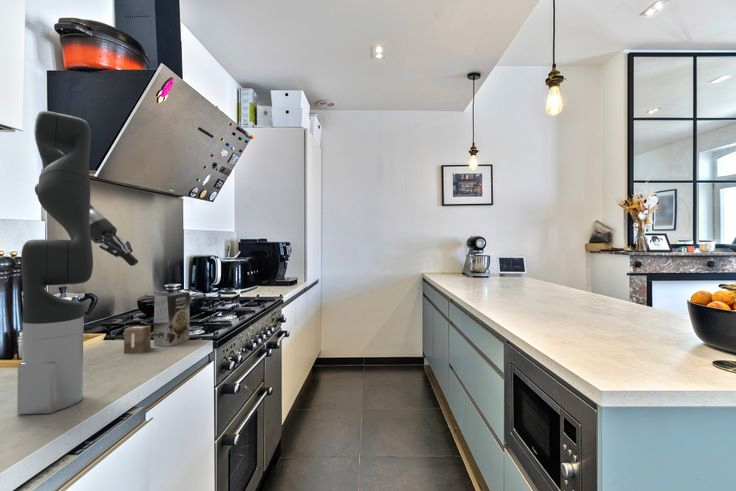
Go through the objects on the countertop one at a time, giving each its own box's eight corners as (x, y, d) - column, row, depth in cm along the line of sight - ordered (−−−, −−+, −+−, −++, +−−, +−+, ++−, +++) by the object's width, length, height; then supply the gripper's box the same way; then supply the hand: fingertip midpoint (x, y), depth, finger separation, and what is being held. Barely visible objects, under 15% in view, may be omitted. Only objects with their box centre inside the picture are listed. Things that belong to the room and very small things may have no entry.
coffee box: (170, 346, 111) (170, 295, 111) (152, 345, 112) (153, 295, 112) (190, 339, 120) (190, 292, 120) (173, 338, 121) (174, 291, 121)
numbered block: (141, 353, 104) (141, 329, 104) (123, 353, 104) (123, 329, 104) (150, 348, 109) (150, 325, 109) (133, 348, 109) (133, 325, 109)
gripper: (90, 216, 107) (132, 256, 109) (117, 219, 121) (154, 255, 122) (71, 233, 107) (113, 273, 108) (100, 234, 120) (137, 270, 121)
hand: (135, 263), depth 115 cm, fingers closed
